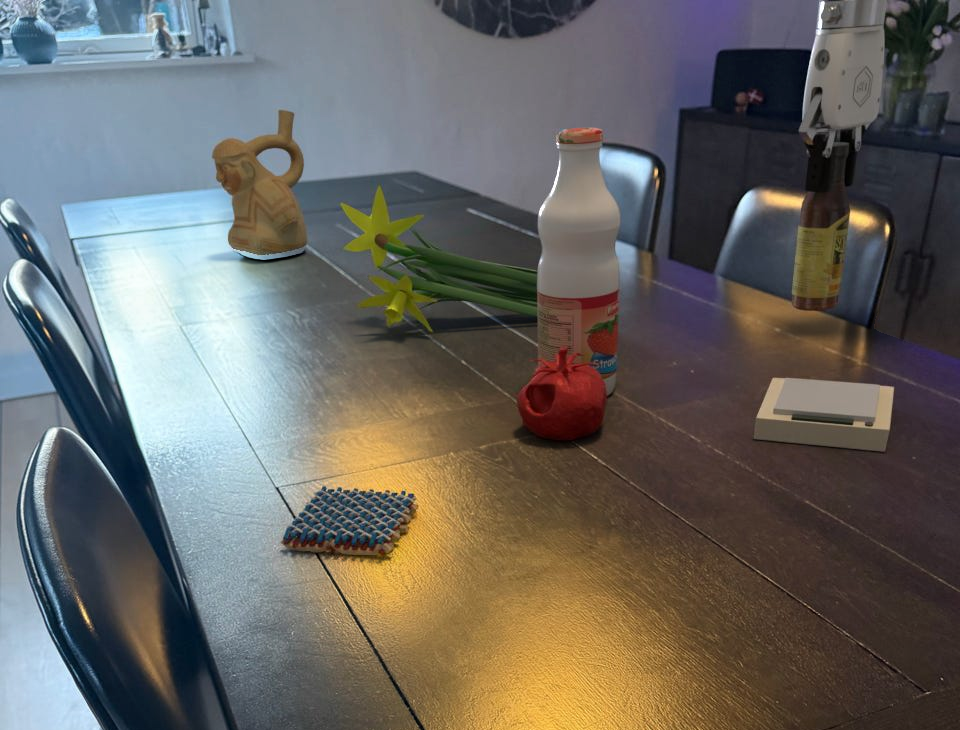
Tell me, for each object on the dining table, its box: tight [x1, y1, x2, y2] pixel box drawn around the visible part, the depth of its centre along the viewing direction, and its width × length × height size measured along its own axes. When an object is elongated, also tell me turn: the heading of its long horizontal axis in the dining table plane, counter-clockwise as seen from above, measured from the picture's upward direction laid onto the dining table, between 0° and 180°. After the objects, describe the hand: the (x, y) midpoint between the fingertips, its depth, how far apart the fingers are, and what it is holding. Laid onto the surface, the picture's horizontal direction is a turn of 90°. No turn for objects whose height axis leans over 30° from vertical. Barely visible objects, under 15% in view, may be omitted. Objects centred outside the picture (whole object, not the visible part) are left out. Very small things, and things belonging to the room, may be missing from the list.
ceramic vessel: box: [211, 109, 308, 255], centre depth 180 cm, size 17×20×25 cm
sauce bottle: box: [791, 141, 851, 312], centre depth 122 cm, size 6×6×20 cm
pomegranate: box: [516, 346, 608, 441], centre depth 100 cm, size 10×10×9 cm
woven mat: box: [280, 485, 419, 556], centre depth 85 cm, size 10×11×2 cm
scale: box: [753, 377, 895, 453], centre depth 100 cm, size 13×13×3 cm
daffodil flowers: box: [339, 185, 538, 333], centre depth 135 cm, size 17×15×35 cm
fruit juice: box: [536, 127, 621, 397], centre depth 105 cm, size 9×9×28 cm
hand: (828, 187), depth 119 cm, fingers closed on sauce bottle, 4 cm apart
